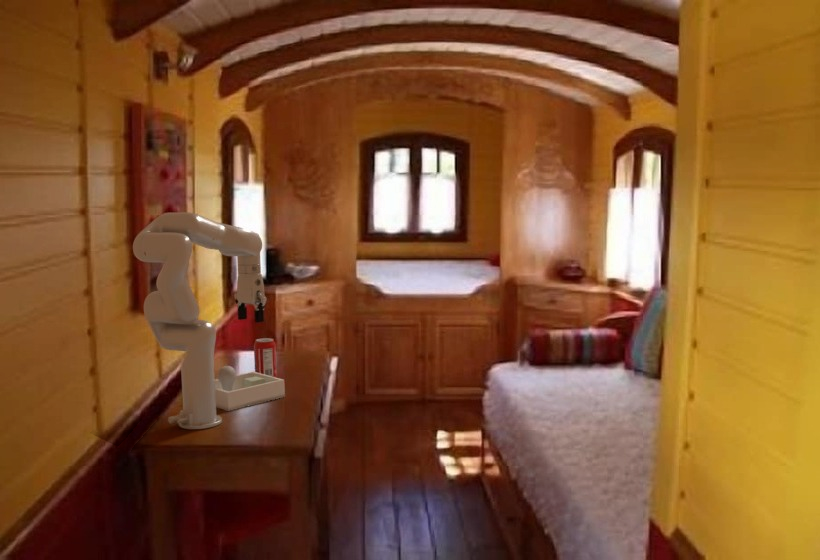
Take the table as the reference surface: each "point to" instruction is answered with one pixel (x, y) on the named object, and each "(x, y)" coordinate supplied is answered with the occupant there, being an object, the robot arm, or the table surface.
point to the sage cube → (253, 381)
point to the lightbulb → (226, 377)
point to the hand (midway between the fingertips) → (250, 320)
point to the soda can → (265, 357)
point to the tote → (249, 392)
